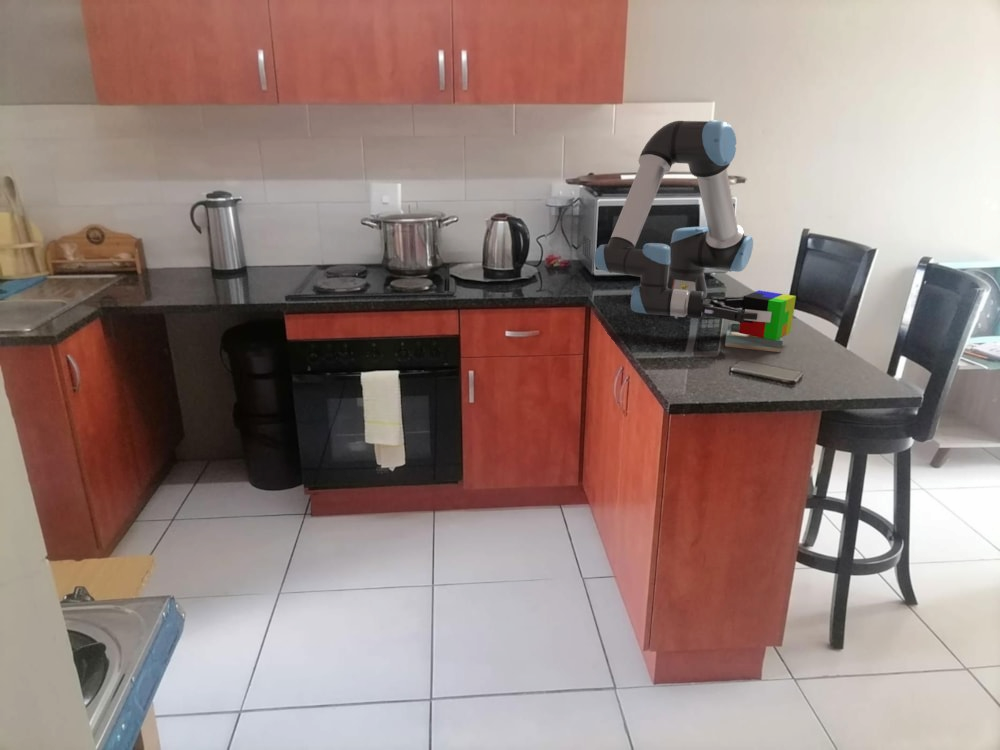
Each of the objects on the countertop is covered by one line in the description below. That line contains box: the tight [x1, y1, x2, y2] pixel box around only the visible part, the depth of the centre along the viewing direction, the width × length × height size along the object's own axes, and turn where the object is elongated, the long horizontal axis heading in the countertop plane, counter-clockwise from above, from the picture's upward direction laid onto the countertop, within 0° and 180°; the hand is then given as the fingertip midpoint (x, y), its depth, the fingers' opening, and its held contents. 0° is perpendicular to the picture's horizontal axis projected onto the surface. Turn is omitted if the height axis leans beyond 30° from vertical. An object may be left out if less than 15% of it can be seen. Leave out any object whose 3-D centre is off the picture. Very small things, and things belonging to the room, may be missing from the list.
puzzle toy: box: [739, 289, 797, 340], centre depth 187 cm, size 10×10×10 cm
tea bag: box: [672, 280, 696, 292], centre depth 219 cm, size 4×7×10 cm, turn 55°
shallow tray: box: [724, 322, 784, 353], centre depth 190 cm, size 14×14×3 cm
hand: (771, 311), depth 187 cm, fingers closed on puzzle toy, 12 cm apart
